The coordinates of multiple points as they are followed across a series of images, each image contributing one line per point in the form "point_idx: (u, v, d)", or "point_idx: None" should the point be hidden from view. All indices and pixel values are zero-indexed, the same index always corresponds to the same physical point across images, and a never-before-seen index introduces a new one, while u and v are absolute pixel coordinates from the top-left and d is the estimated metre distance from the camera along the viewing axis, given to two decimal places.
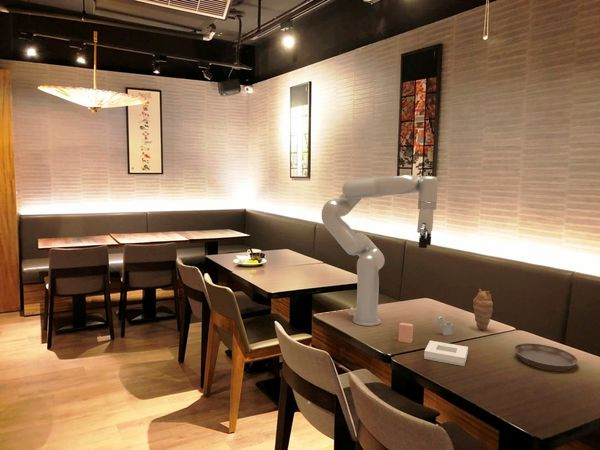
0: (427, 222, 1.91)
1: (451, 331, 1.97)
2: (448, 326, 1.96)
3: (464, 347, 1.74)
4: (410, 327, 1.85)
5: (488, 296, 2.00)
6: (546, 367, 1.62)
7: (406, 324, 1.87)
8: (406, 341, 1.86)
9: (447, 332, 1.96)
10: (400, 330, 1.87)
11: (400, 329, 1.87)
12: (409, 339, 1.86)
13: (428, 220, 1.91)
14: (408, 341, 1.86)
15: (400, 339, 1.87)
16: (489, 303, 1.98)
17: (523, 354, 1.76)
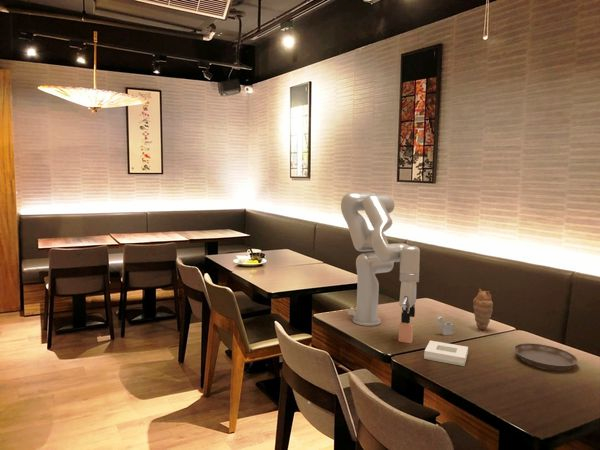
0: (409, 296, 1.80)
1: (451, 331, 1.97)
2: (448, 326, 1.96)
3: (464, 347, 1.74)
4: (410, 327, 1.85)
5: (488, 296, 2.00)
6: (546, 367, 1.62)
7: (406, 324, 1.87)
8: (406, 341, 1.86)
9: (447, 332, 1.96)
10: (400, 330, 1.87)
11: (400, 329, 1.87)
12: (409, 339, 1.86)
13: (410, 294, 1.80)
14: (408, 341, 1.86)
15: (400, 339, 1.87)
16: (489, 303, 1.98)
17: (523, 354, 1.76)
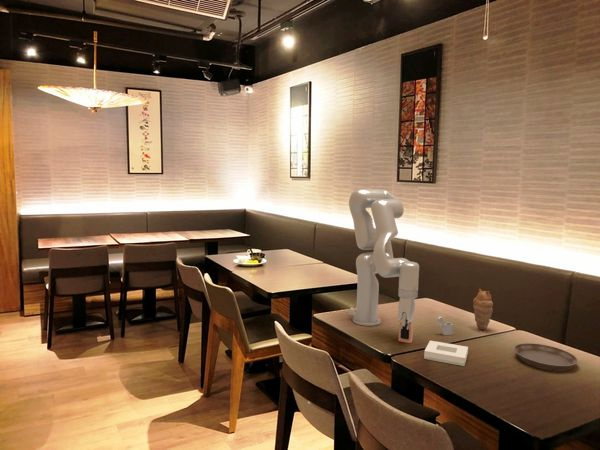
0: (407, 312, 1.82)
1: (451, 331, 1.97)
2: (448, 326, 1.96)
3: (464, 347, 1.74)
4: (410, 327, 1.85)
5: (488, 296, 2.00)
6: (546, 367, 1.62)
7: None
8: (406, 340, 1.86)
9: (447, 332, 1.96)
10: (400, 330, 1.87)
11: (400, 329, 1.87)
12: (409, 339, 1.86)
13: (408, 310, 1.82)
14: (408, 341, 1.86)
15: (400, 339, 1.87)
16: (489, 303, 1.98)
17: (523, 354, 1.76)
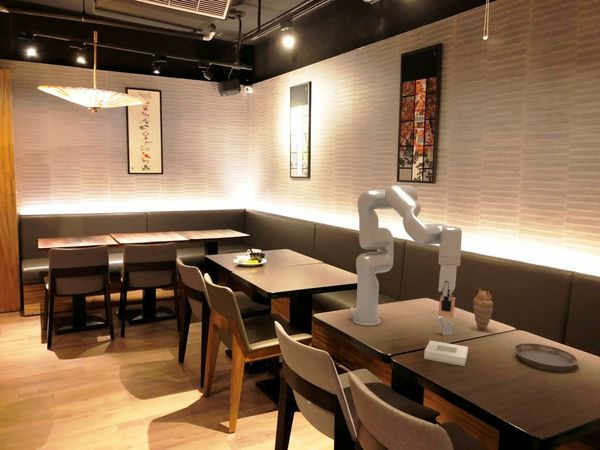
0: (450, 281, 1.66)
1: (451, 331, 1.97)
2: (448, 326, 1.96)
3: (464, 347, 1.74)
4: (452, 300, 1.69)
5: (488, 296, 2.00)
6: (546, 367, 1.62)
7: None
8: (447, 315, 1.70)
9: (447, 332, 1.96)
10: (441, 303, 1.71)
11: (441, 302, 1.71)
12: (450, 313, 1.70)
13: (451, 278, 1.65)
14: (449, 315, 1.70)
15: (440, 313, 1.71)
16: (489, 303, 1.98)
17: (523, 354, 1.76)
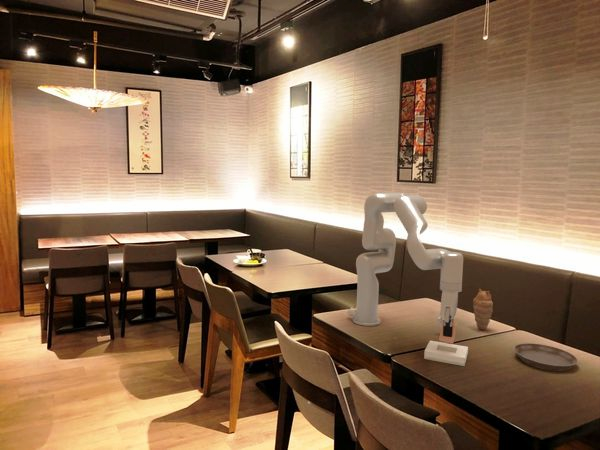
0: (451, 307, 1.66)
1: None
2: None
3: (464, 347, 1.74)
4: (454, 326, 1.69)
5: (488, 296, 2.00)
6: (546, 367, 1.62)
7: None
8: (448, 340, 1.70)
9: None
10: (442, 328, 1.71)
11: None
12: (451, 339, 1.70)
13: (453, 304, 1.66)
14: (450, 341, 1.70)
15: (441, 338, 1.71)
16: (489, 303, 1.98)
17: (523, 354, 1.76)
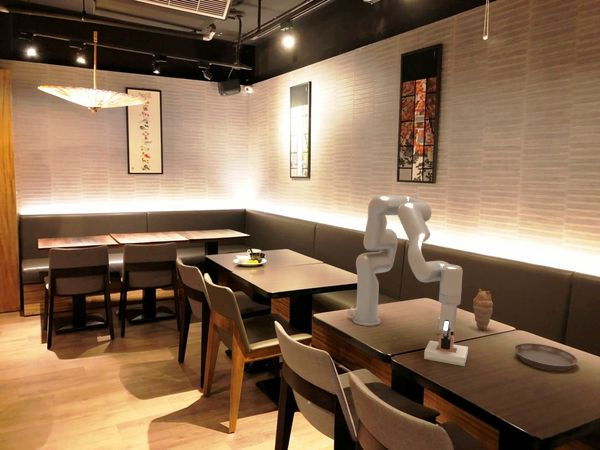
0: (450, 320, 1.66)
1: None
2: None
3: (464, 347, 1.74)
4: (451, 339, 1.70)
5: (488, 296, 2.00)
6: (546, 367, 1.62)
7: None
8: None
9: None
10: (440, 342, 1.72)
11: (440, 341, 1.72)
12: None
13: (452, 317, 1.66)
14: None
15: None
16: (489, 303, 1.98)
17: (523, 354, 1.76)
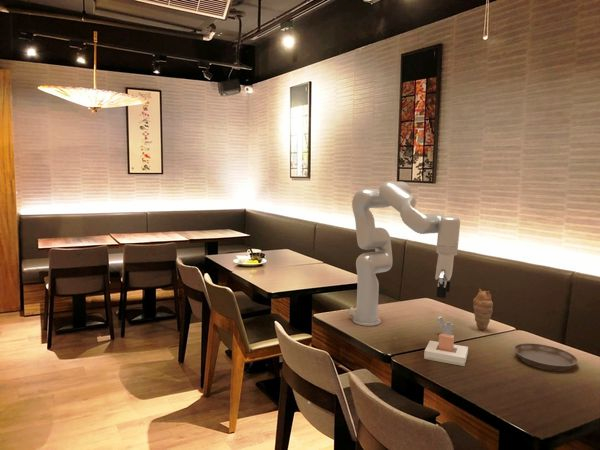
0: (446, 269, 1.69)
1: (451, 331, 1.97)
2: (448, 326, 1.96)
3: (464, 347, 1.74)
4: (451, 339, 1.70)
5: (488, 296, 2.00)
6: (546, 367, 1.62)
7: (446, 335, 1.72)
8: None
9: (447, 332, 1.96)
10: (440, 342, 1.72)
11: (440, 341, 1.72)
12: None
13: (448, 267, 1.69)
14: None
15: None
16: (489, 303, 1.98)
17: (523, 354, 1.76)
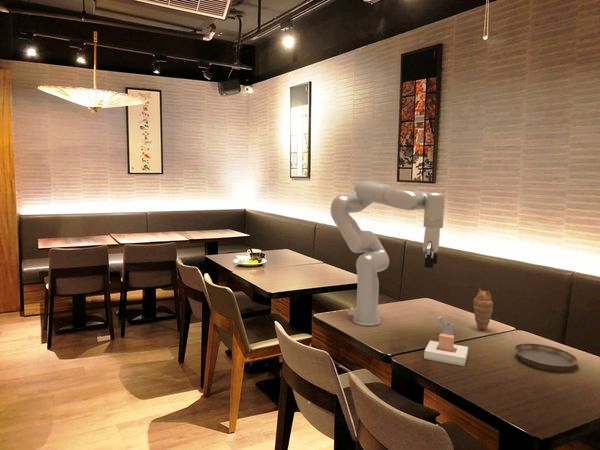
0: (433, 241, 1.83)
1: (451, 331, 1.97)
2: (448, 326, 1.96)
3: (464, 347, 1.74)
4: (451, 339, 1.70)
5: (488, 296, 2.00)
6: (546, 367, 1.62)
7: (446, 335, 1.72)
8: None
9: (447, 332, 1.96)
10: (440, 342, 1.72)
11: (440, 341, 1.72)
12: None
13: (434, 239, 1.83)
14: None
15: None
16: (489, 303, 1.98)
17: (523, 354, 1.76)
